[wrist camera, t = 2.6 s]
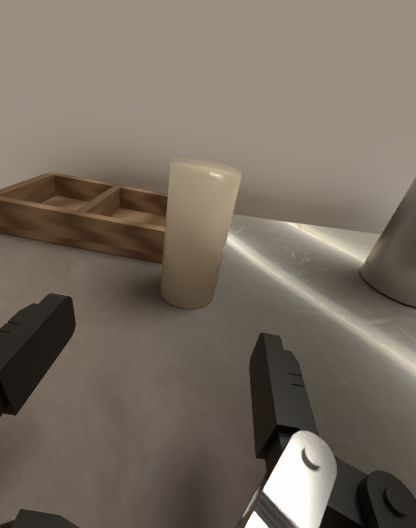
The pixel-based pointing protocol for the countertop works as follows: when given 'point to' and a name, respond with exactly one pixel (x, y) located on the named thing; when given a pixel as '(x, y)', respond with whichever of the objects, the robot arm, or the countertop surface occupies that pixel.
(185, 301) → the cream pillar candle
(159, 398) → the countertop surface
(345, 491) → the robot arm
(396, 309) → the countertop surface
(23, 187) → the wooden divided tray
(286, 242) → the countertop surface
